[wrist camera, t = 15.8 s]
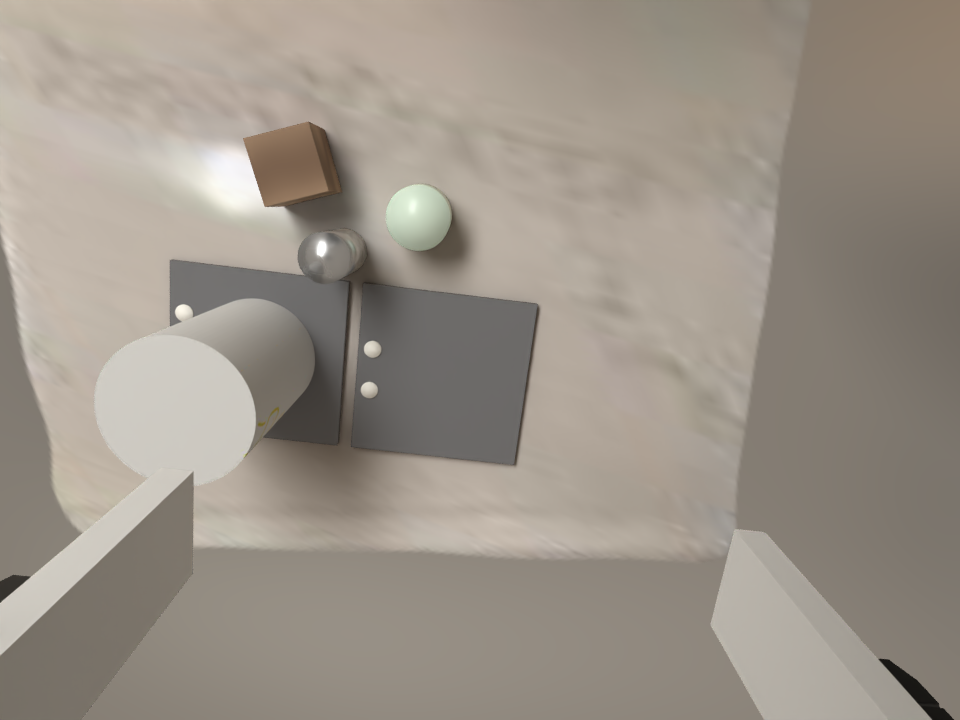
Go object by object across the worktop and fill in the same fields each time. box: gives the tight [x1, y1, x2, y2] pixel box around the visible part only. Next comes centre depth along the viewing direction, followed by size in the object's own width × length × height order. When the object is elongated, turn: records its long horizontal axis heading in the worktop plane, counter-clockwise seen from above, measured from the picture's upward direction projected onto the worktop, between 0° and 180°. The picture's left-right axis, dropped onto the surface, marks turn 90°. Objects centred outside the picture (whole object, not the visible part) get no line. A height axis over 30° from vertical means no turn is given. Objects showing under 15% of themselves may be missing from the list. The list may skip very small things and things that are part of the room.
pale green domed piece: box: [386, 184, 452, 251], centre depth 39 cm, size 4×4×3 cm
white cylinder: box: [94, 298, 315, 486], centre depth 37 cm, size 8×8×12 cm
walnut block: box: [243, 122, 342, 207], centre depth 38 cm, size 4×4×4 cm
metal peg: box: [298, 228, 367, 284], centre depth 38 cm, size 3×3×6 cm
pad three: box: [170, 260, 350, 445], centre depth 43 cm, size 12×12×1 cm
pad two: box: [351, 283, 538, 465], centre depth 43 cm, size 12×12×1 cm
